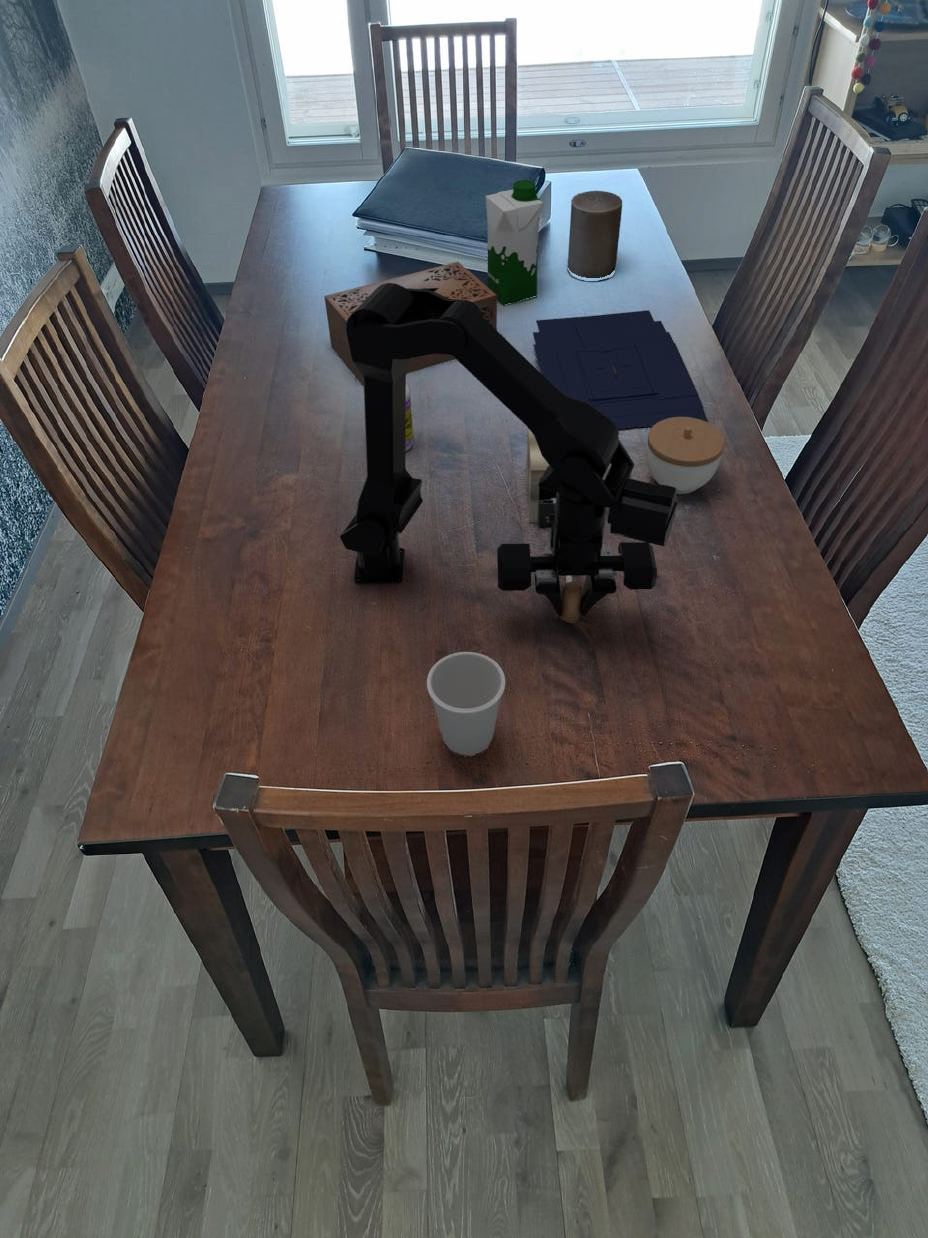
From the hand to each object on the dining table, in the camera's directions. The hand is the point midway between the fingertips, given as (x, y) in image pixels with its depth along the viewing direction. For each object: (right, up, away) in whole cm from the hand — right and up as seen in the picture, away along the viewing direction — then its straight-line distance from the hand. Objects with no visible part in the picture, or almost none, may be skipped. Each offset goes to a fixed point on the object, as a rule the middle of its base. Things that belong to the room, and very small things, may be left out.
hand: (570, 613), depth 115 cm
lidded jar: (+18, +20, +20) cm, 33 cm away
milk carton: (-4, +62, +60) cm, 86 cm away
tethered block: (0, +6, +7) cm, 9 cm away
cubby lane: (0, +17, +17) cm, 24 cm away
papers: (+11, +39, +39) cm, 57 cm away
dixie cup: (-13, -14, -11) cm, 22 cm away
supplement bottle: (-25, +27, +27) cm, 45 cm away
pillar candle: (+12, +68, +66) cm, 96 cm away
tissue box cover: (-23, +47, +47) cm, 71 cm away
